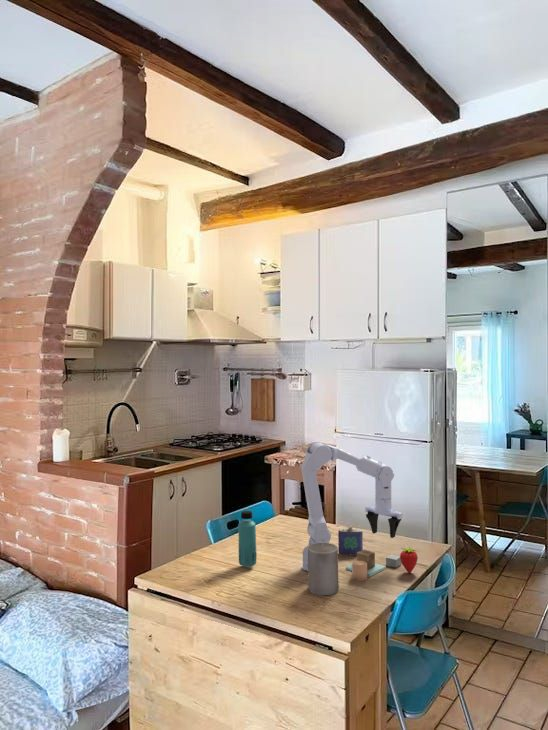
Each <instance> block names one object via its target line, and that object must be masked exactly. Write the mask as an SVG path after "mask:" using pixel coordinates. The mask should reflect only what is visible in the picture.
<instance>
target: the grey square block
mask: <svg viewBox="0 0 548 730" xmlns="http://www.w3.org/2000/svg"><path fill="white" fill-rule="evenodd" d="M401 565H402V563H401V560H400V555H396V554H388V556H386V557H385V566H387V567H391V568H395V569H397V568H399V567H401Z"/></svg>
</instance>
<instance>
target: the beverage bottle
mask: <svg viewBox="0 0 548 730" xmlns="http://www.w3.org/2000/svg"><path fill="white" fill-rule="evenodd" d="M240 514H241V515H240V518H241V519H242V520H241V521H239V523H238V524H237V527H238V546H237V548H238V554H237V555H238V564H239V565H240V566H241V567H253V566H255V565H256V564H257V535H256V534H257V533H256V530H257V529H256V527H257V526H256V522H255V521H254V520H251V519H253V511H251V510H243V511H241V513H240Z"/></svg>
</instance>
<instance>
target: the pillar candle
mask: <svg viewBox="0 0 548 730" xmlns="http://www.w3.org/2000/svg"><path fill="white" fill-rule="evenodd" d="M307 546H308V545H307ZM338 550H339V549H338V546H337V545H336V544H333V543H331V542H329V543H314V544H311V545H309V546H308V571H307V572H308V573H307V575H308V576H307V577H308V580H307V581H308V583H307V584H308V591H309V593H311V594H313V595H316V596H332V595H335V594H337V593H338V592H339V588H340V587H339V586H340V583H339V552H338Z"/></svg>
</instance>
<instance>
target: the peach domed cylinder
mask: <svg viewBox="0 0 548 730" xmlns="http://www.w3.org/2000/svg"><path fill="white" fill-rule="evenodd" d="M351 565H352V571H351V573H352V574H351V577H352V580H354V581H357V582H363V581H366V580H368V576H367V563H366V562H364V561H357V560H354V561H352V562H351Z"/></svg>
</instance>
